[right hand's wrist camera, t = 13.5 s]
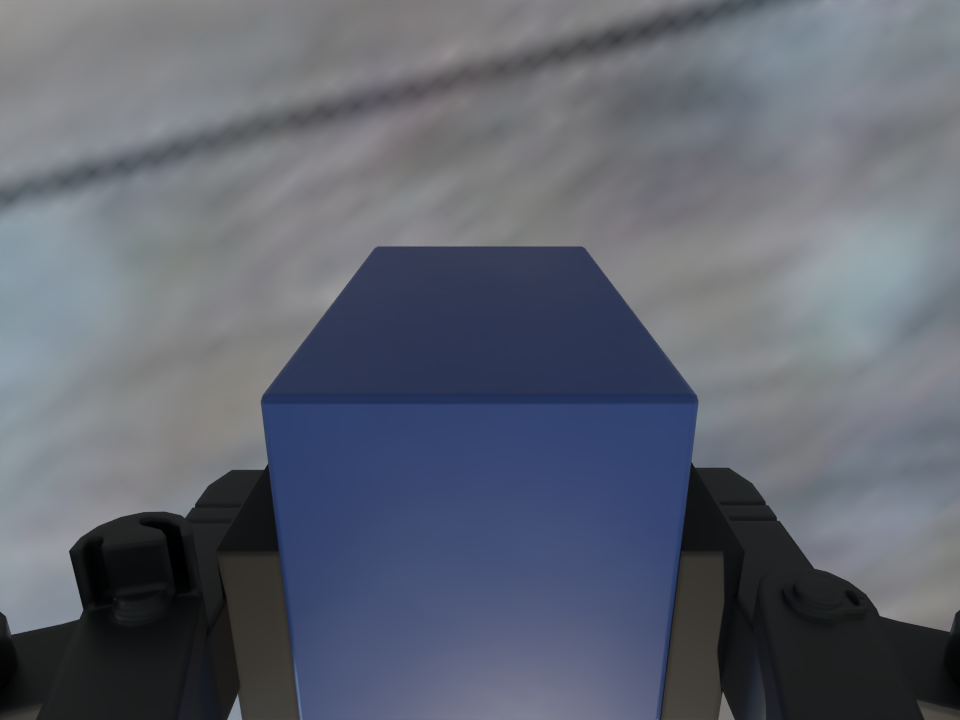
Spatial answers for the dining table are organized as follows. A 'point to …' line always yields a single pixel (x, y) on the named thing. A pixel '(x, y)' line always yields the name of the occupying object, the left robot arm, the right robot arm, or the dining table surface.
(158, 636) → the right robot arm
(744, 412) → the dining table surface
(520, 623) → the block
